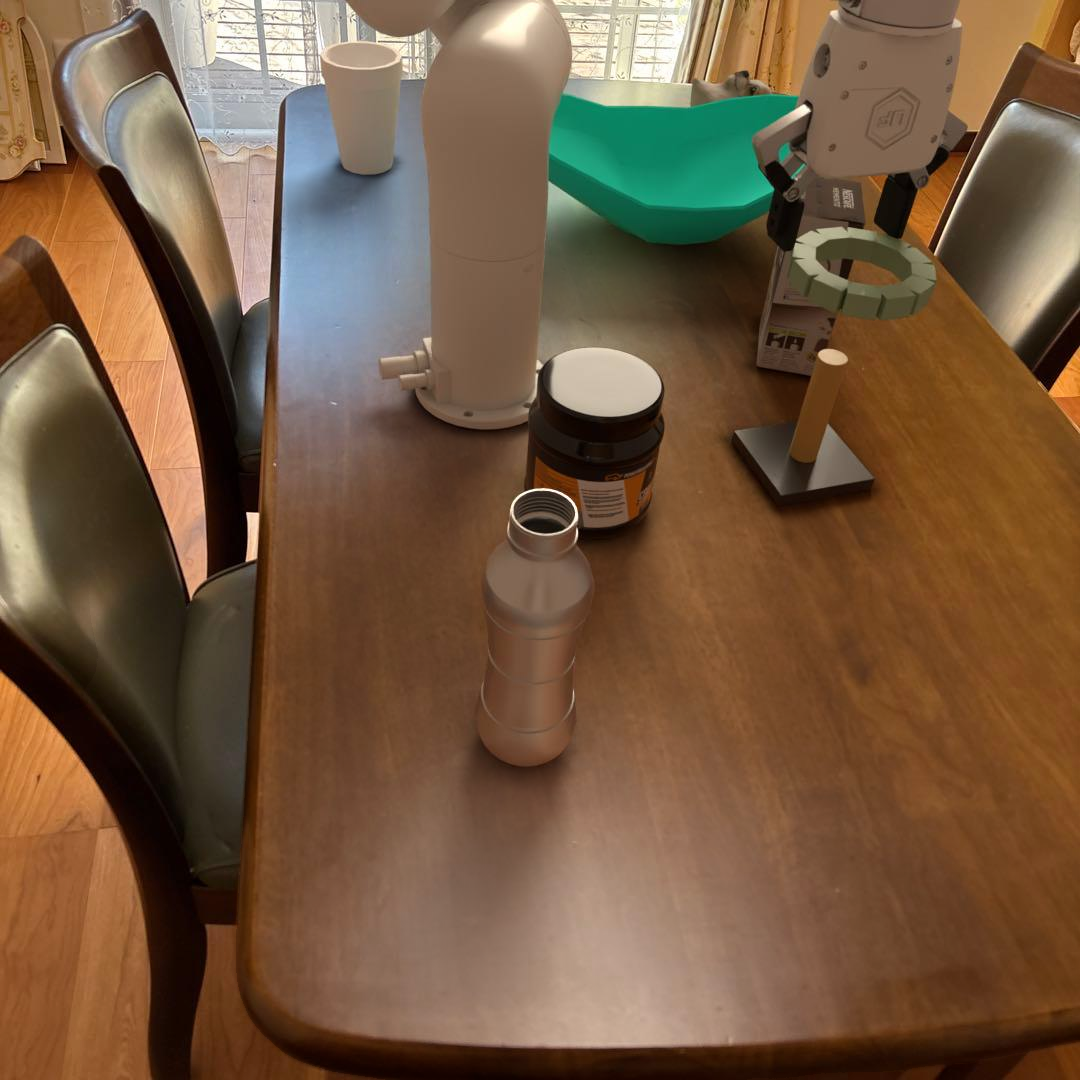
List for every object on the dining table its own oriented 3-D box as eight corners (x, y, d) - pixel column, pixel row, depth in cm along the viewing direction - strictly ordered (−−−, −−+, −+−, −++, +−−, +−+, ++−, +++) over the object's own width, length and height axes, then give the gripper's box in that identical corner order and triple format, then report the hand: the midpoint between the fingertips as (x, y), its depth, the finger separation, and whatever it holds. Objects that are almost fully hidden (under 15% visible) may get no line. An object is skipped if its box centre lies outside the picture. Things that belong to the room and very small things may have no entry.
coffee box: (820, 378, 100) (867, 223, 89) (754, 367, 100) (792, 212, 89) (820, 330, 106) (864, 180, 95) (758, 320, 107) (794, 170, 96)
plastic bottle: (569, 696, 70) (600, 471, 56) (575, 782, 65) (611, 558, 51) (475, 695, 69) (482, 467, 55) (473, 781, 64) (481, 555, 51)
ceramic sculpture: (687, 51, 139) (792, 61, 142) (674, 115, 145) (774, 124, 148) (704, 81, 132) (814, 91, 134) (689, 147, 138) (794, 155, 140)
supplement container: (606, 564, 79) (624, 442, 71) (496, 507, 83) (502, 385, 75) (672, 495, 86) (697, 375, 77) (568, 445, 90) (581, 326, 81)
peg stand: (778, 506, 85) (811, 396, 78) (731, 441, 91) (757, 333, 84) (871, 489, 88) (911, 381, 80) (819, 427, 94) (852, 321, 86)
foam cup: (321, 152, 130) (312, 44, 121) (391, 144, 133) (387, 38, 124) (340, 184, 124) (332, 72, 115) (414, 175, 127) (411, 66, 118)
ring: (830, 327, 72) (836, 305, 71) (762, 254, 80) (768, 233, 78) (956, 311, 75) (965, 289, 74) (880, 242, 82) (887, 222, 81)
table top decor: (785, 178, 133) (810, 72, 124) (857, 287, 113) (893, 170, 104) (481, 174, 128) (484, 64, 119) (500, 287, 108) (505, 165, 99)
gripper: (812, 19, 63) (755, 272, 74) (1044, 8, 67) (956, 249, 79) (757, -18, 68) (712, 225, 79) (976, -26, 72) (903, 205, 84)
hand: (834, 236), depth 79 cm, fingers closed on ring, 9 cm apart
